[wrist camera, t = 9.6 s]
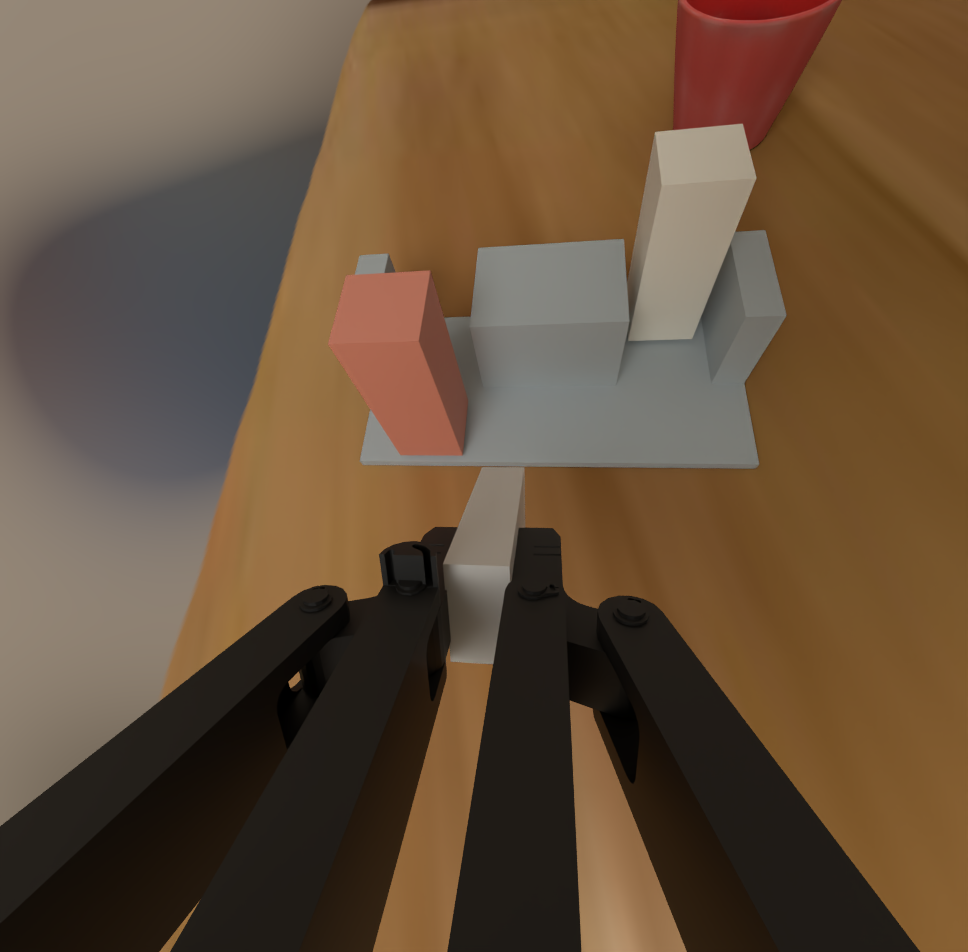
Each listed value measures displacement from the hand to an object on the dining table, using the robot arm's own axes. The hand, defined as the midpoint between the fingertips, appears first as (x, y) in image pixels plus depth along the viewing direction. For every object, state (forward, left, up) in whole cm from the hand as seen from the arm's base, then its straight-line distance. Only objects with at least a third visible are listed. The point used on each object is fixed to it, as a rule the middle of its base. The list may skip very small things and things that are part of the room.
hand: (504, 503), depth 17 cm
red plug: (+6, -9, -12) cm, 16 cm away
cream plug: (-9, -18, -12) cm, 24 cm away
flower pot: (-16, -40, -12) cm, 45 cm away
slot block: (-1, -13, -12) cm, 18 cm away
